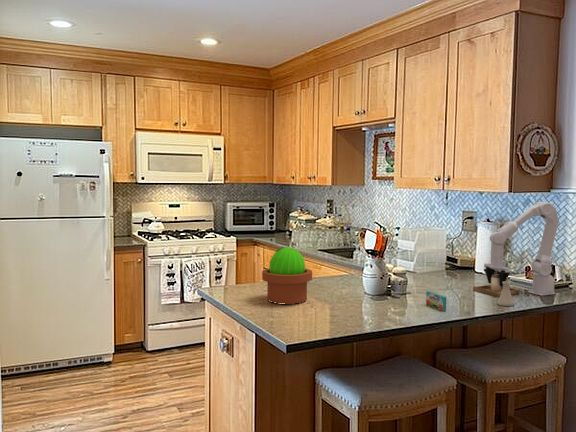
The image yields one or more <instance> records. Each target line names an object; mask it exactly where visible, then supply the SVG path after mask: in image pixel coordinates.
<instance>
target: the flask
mask: <svg viewBox="0 0 576 432" xmlns="http://www.w3.org/2000/svg"><path fill="white" fill-rule="evenodd" d="M502 283H503V289H502V292H501V295H500V297H498V300H497V302H496V304H497V305H498V306H504V307H514V306H515V302H514V299H513V295H511V293H510V288H511V287H510V285H511V282H510V281H506V282H502Z"/></svg>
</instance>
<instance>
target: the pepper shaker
mask: <svg viewBox="0 0 576 432" xmlns="http://www.w3.org/2000/svg"><path fill="white" fill-rule="evenodd" d="M490 285H491V291H493V292H501V286H500V283H499V275H498V273H494V274H492V277H491V283H490Z"/></svg>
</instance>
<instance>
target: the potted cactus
mask: <svg viewBox="0 0 576 432" xmlns="http://www.w3.org/2000/svg"><path fill="white" fill-rule="evenodd" d="M272 254H273V255H272V256H271V259H270V260H269V266H268V267H269V268H264V270H262V271H261V279H262V281H264V282H267V284H266V285H267V286H266V287H267V289H266V290H267V292H266V294H267V301H268V300H270V301H272V302H276V303H285V304H295V303H300V304H302V303H301V302H303V303H305V302H306V301H308V300H307V299H308V282H311V281H313V270H311V269H309V268H307V267H306V263H305V262H306V261H305V258H304V257H303V254H302V253H300V251H298V249H295V248H294V247H293V246H291V247H289V246H288V247H287V246H286V247H285V246H283V247H279V248H278V249H277V250H275V251H274V253H272ZM304 301H305V302H304ZM295 305H296V304H295Z"/></svg>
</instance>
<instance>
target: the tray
mask: <svg viewBox="0 0 576 432" xmlns="http://www.w3.org/2000/svg"><path fill="white" fill-rule="evenodd" d="M509 288H510V293H511V296H515V295H520V289H517V288H513V287H509ZM502 289H503V286H501V292H502ZM473 292H477V293H481V294H484V295H487V296H491V297H495V298H499V297H500V295H501V292H493V291H491V284H488V285H487V284H486V285H478V286H477V285H476V286H473Z"/></svg>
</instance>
